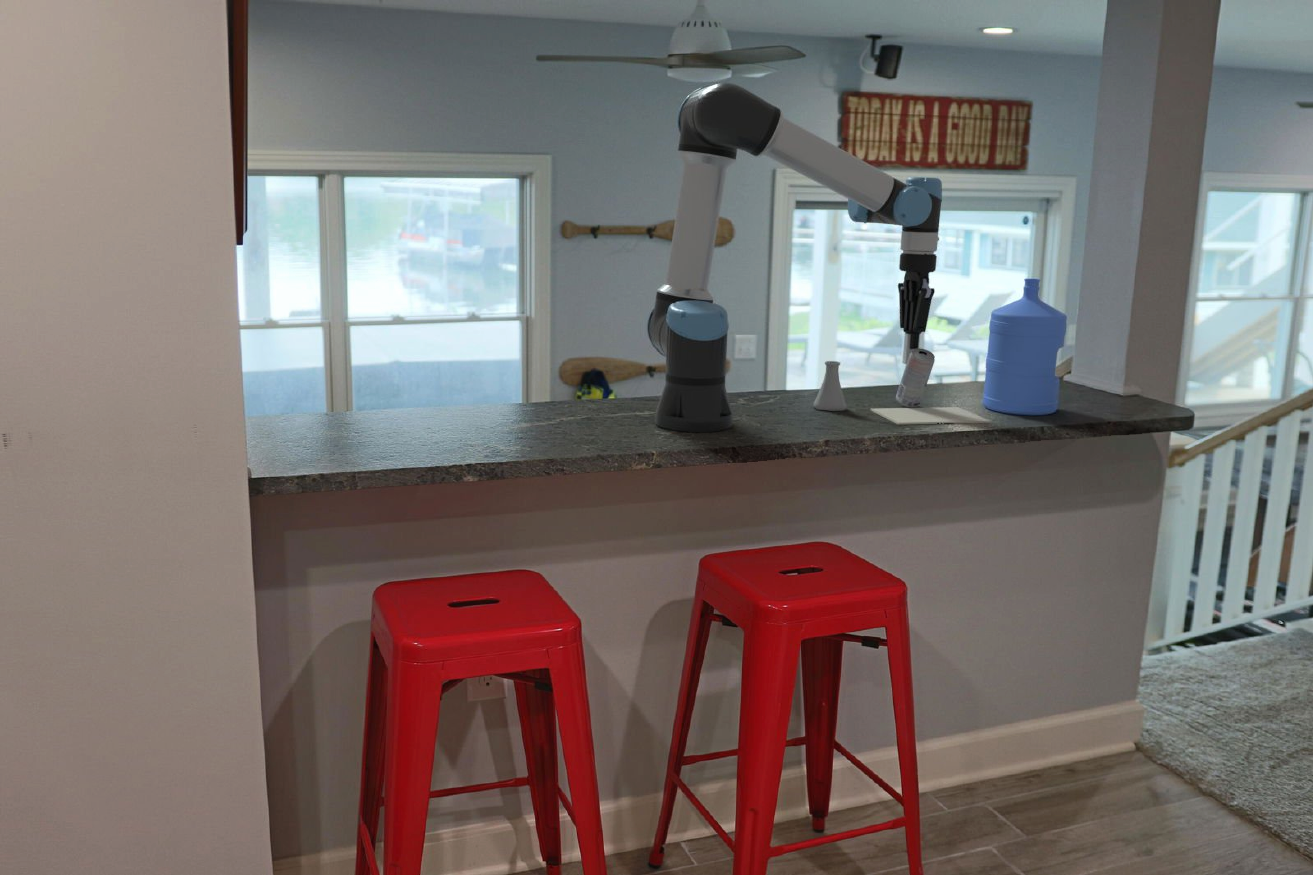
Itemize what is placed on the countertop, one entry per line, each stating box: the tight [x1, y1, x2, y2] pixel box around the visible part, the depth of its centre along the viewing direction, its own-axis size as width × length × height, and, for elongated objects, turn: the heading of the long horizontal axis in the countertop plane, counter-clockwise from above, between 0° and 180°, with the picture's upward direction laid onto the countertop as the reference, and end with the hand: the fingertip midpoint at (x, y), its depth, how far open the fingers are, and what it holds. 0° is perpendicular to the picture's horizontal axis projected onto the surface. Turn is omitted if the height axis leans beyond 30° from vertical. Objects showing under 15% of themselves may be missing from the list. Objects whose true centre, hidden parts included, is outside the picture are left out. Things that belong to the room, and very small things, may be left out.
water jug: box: [981, 278, 1068, 416], centre depth 237 cm, size 16×16×28 cm
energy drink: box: [895, 347, 936, 408], centre depth 236 cm, size 5×5×12 cm
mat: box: [870, 406, 991, 426], centre depth 229 cm, size 20×14×1 cm
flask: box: [812, 360, 848, 412], centre depth 234 cm, size 7×7×10 cm
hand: (909, 363), depth 238 cm, fingers closed
